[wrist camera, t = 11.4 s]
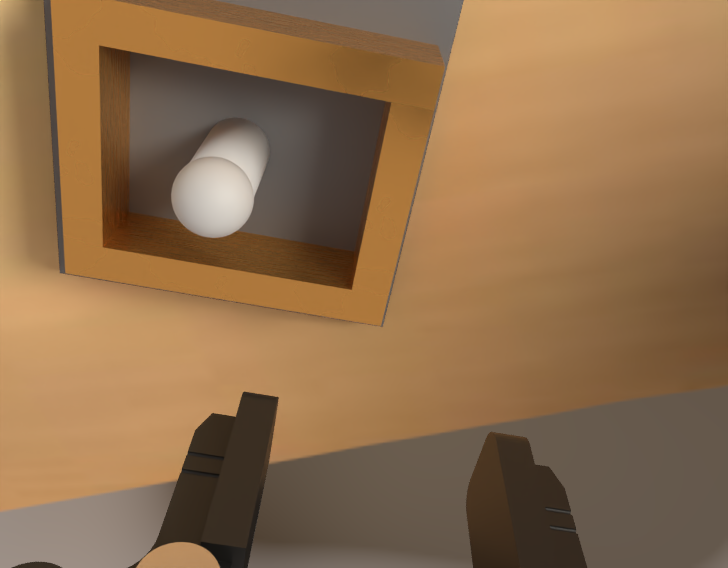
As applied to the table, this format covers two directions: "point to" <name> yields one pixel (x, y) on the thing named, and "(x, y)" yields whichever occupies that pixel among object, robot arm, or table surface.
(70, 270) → the link ring
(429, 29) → the plate
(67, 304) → the table surface
